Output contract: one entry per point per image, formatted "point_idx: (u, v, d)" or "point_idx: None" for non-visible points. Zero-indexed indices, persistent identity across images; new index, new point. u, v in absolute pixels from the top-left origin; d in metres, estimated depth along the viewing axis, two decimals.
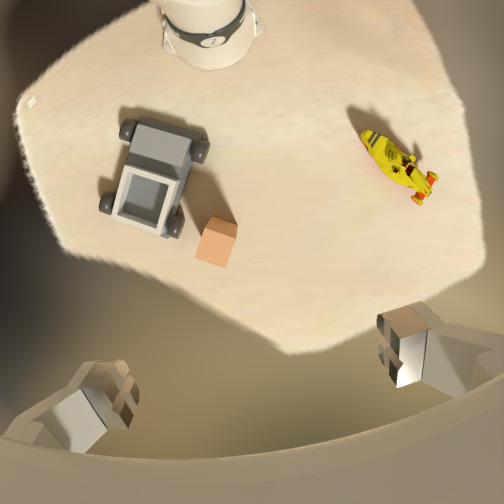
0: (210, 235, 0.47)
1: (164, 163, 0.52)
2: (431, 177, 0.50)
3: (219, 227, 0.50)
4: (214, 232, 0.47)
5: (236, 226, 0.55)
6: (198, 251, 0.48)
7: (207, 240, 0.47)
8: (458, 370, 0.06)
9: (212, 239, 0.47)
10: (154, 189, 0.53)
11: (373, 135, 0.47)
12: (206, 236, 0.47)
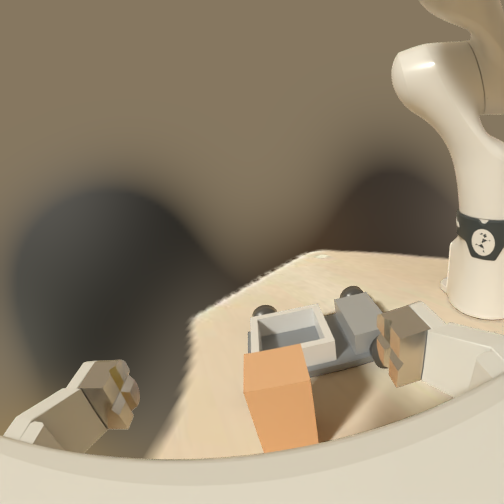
0: (293, 353, 0.25)
1: (344, 340, 0.39)
2: None
3: None
4: (301, 354, 0.24)
5: (318, 442, 0.24)
6: (256, 353, 0.26)
7: (282, 354, 0.25)
8: (458, 370, 0.06)
9: (288, 357, 0.24)
10: None
11: None
12: (287, 350, 0.25)
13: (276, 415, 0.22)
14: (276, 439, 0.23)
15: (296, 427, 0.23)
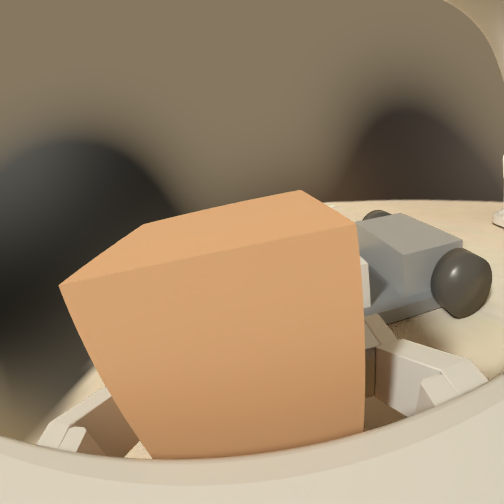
0: (278, 200, 0.08)
1: (377, 278, 0.22)
2: None
3: None
4: (305, 197, 0.08)
5: None
6: (174, 218, 0.09)
7: (244, 205, 0.08)
8: (409, 390, 0.06)
9: (260, 206, 0.08)
10: None
11: None
12: (262, 200, 0.09)
13: (210, 417, 0.05)
14: None
15: None
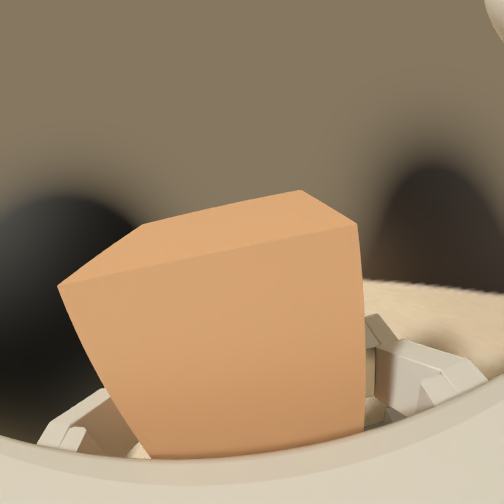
0: (278, 200, 0.08)
1: None
2: None
3: None
4: (305, 197, 0.08)
5: None
6: (174, 218, 0.09)
7: (244, 205, 0.08)
8: (409, 390, 0.06)
9: (260, 206, 0.08)
10: None
11: None
12: (262, 200, 0.09)
13: (210, 418, 0.05)
14: None
15: None
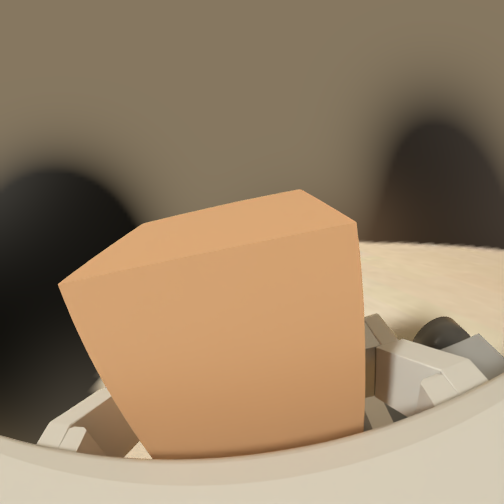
0: (278, 199, 0.08)
1: None
2: None
3: None
4: (305, 196, 0.08)
5: None
6: (174, 217, 0.09)
7: (244, 204, 0.08)
8: (409, 390, 0.06)
9: (260, 205, 0.08)
10: None
11: None
12: (262, 199, 0.09)
13: (210, 416, 0.05)
14: None
15: None
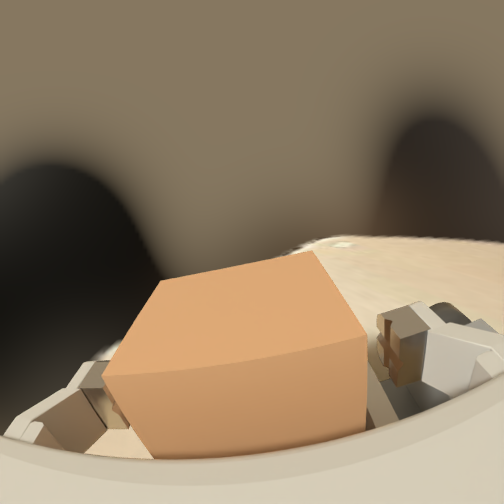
0: (292, 269, 0.09)
1: None
2: None
3: None
4: (318, 269, 0.08)
5: None
6: (192, 277, 0.10)
7: (260, 272, 0.09)
8: (458, 370, 0.06)
9: (276, 278, 0.08)
10: None
11: None
12: (277, 264, 0.09)
13: None
14: None
15: None
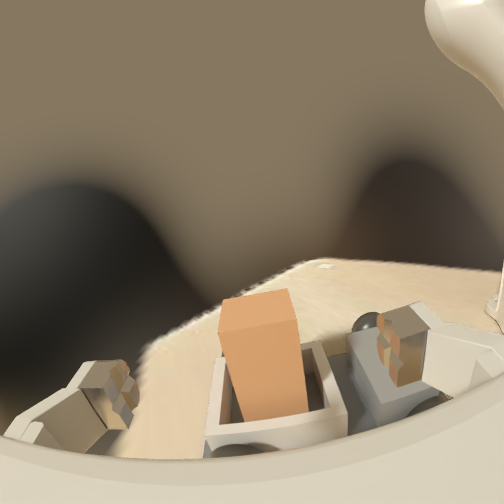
0: (278, 296, 0.23)
1: (359, 400, 0.23)
2: None
3: None
4: (287, 297, 0.22)
5: (308, 409, 0.21)
6: (237, 298, 0.24)
7: (265, 297, 0.23)
8: (458, 370, 0.06)
9: (272, 300, 0.22)
10: None
11: None
12: (272, 294, 0.23)
13: (257, 368, 0.20)
14: (258, 403, 0.21)
15: (281, 386, 0.20)
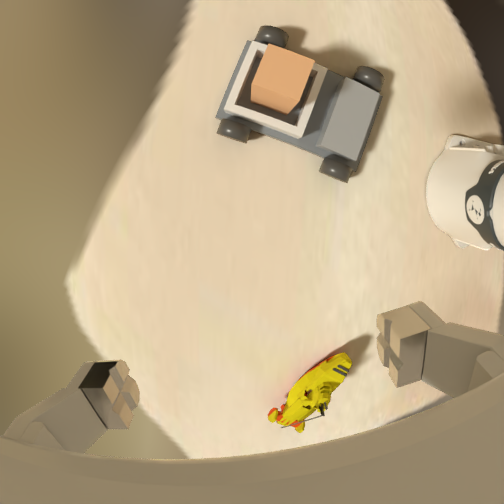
0: (303, 67, 0.27)
1: (321, 119, 0.37)
2: (298, 424, 0.49)
3: None
4: (308, 72, 0.27)
5: (288, 112, 0.36)
6: (278, 48, 0.26)
7: (296, 62, 0.26)
8: (458, 370, 0.06)
9: (297, 69, 0.27)
10: None
11: (345, 369, 0.44)
12: (302, 61, 0.26)
13: (267, 96, 0.31)
14: (262, 100, 0.34)
15: (278, 104, 0.33)
